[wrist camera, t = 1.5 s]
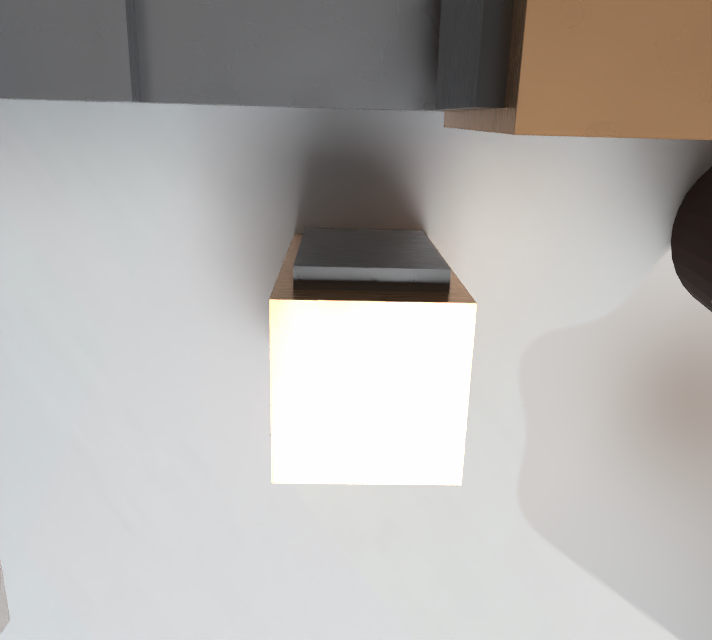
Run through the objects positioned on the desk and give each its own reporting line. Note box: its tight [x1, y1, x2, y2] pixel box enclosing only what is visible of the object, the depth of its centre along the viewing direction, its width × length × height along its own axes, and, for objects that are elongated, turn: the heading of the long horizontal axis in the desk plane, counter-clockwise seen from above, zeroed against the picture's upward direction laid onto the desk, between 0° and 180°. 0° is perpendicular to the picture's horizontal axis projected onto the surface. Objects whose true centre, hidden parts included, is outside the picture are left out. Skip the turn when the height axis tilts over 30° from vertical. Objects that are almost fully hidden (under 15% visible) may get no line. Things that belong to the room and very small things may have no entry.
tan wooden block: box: [269, 228, 477, 485], centre depth 21 cm, size 6×5×9 cm
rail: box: [0, 0, 712, 140], centre depth 17 cm, size 24×5×11 cm, turn 88°
